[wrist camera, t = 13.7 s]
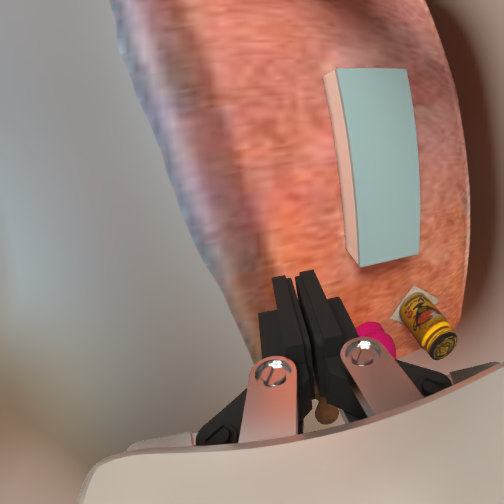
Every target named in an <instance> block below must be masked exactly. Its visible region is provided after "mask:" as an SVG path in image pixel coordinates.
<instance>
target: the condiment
mask: <svg viewBox="0 0 504 504" xmlns="http://www.w3.org/2000/svg"><path fill="white" fill-rule="evenodd" d="M438 301H439V299H438V298H436V297H434V296H432V295H430V294H429V293H427V292H425V291H423V290H421V289H420V288H418V287H416V286H414V285H413V287H412V288H411V290H410V291H409V292H408V294H407V295H406V296H405V298H404V299H403V300H402V302H401V303H400V305H399V306H398V307H397V309H396V310H395V312H394V313H393V315H392V316H391V317H390V319H393V320H395V321H398V322H400V323H403V324H405V325H406V326H407V327H408V328H409V330H410V331H411V333H412V334H413V336H414V337H415V338H416V340H417V341H418V343H419V344H420V346H421V348H422V349H424V350H426V351H427V352H428V354H429V355H430V357H431V358H432V359H434V360H440V359H442V358H444V357H445V356H447V355H448V354H449V353H450V352H451V351H452V350H453V348H454V347H455V346H456V343H457V336H456V334H455V333H454V332H453V330H452V329H451V326H450V324H449V322H448V321H447V320H446V318H445V317H444V316H443V315H442V314H441V313H440V311H438V309H437V308H436V307H435V304H436V303H437V302H438Z"/></svg>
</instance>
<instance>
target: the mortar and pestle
mask: <svg viewBox="0 0 504 504" xmlns="http://www.w3.org/2000/svg"><path fill="white" fill-rule="evenodd" d="M313 376H314V374H313ZM314 387H315V399H317V400H318V401H319V403H318V406H317V408H316V411H315V417H316V419H317V420H318V422H320V423H321V424H330V423H333V422H334V421H335V420H336V419H337V418H338V415H339V410H338V408H337V407H335V406H333V405H330V404H327V403H326V399H325V397H322V398H320V397H319V393H318V389H317V386H316V382H315V378H314Z"/></svg>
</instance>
